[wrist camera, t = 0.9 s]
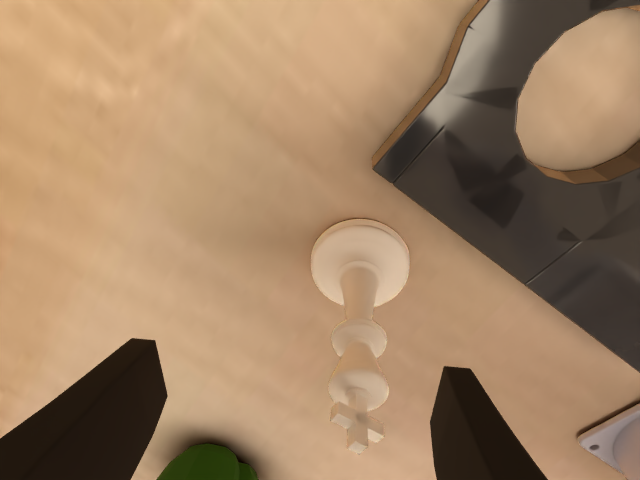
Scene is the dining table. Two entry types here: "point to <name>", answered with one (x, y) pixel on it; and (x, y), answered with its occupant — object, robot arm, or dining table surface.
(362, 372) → the chess piece
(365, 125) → the dining table surface
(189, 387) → the dining table surface
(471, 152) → the dark grey flat block
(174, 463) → the bell pepper
